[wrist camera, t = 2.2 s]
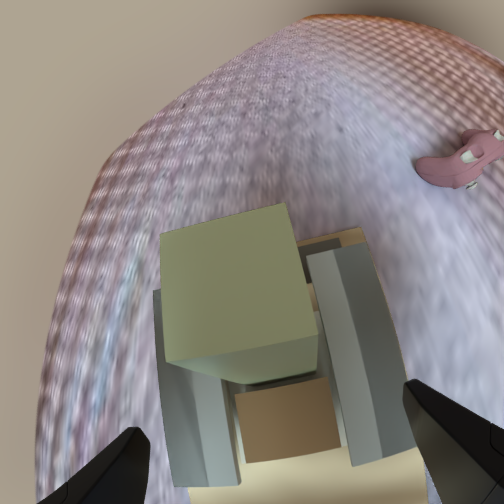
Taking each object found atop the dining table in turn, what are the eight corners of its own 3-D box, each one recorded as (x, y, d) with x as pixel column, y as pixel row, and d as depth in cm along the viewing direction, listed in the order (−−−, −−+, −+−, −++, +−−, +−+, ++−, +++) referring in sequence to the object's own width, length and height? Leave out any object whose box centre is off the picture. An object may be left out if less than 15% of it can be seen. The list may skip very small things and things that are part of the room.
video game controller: (432, 208, 26) (479, 191, 19) (407, 165, 26) (449, 138, 19) (483, 169, 26) (524, 150, 19) (462, 132, 27) (501, 107, 20)
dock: (394, 435, 16) (420, 445, 11) (207, 469, 17) (173, 486, 12) (356, 278, 22) (366, 241, 17) (186, 316, 23) (152, 290, 18)
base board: (427, 549, 11) (431, 554, 10) (216, 583, 13) (212, 589, 12) (359, 233, 24) (361, 226, 23) (169, 277, 26) (163, 272, 25)
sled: (352, 441, 16) (413, 501, 5) (245, 461, 17) (143, 529, 5) (325, 313, 21) (333, 191, 9) (225, 334, 21) (120, 245, 10)
